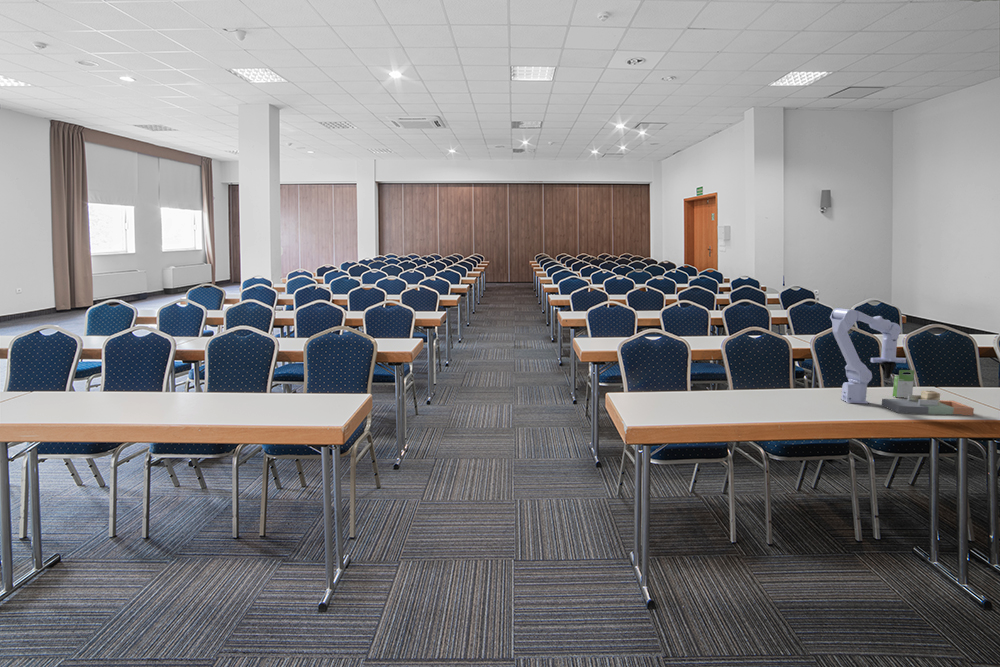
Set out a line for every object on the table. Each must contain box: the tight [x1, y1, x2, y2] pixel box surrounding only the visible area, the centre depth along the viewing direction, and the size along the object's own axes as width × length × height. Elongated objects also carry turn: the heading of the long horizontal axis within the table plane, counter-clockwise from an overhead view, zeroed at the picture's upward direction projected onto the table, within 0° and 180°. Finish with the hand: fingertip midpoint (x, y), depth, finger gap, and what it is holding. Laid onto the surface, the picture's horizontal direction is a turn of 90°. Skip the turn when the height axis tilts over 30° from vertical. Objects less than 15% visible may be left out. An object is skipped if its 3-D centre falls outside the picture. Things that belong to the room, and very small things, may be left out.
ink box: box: [892, 369, 915, 399], centre depth 304 cm, size 7×4×13 cm, turn 84°
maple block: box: [920, 390, 941, 405], centre depth 279 cm, size 5×5×5 cm
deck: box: [881, 398, 975, 416], centre depth 280 cm, size 30×14×3 cm, turn 86°
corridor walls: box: [907, 394, 939, 406], centre depth 280 cm, size 8×9×2 cm
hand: (886, 378), depth 296 cm, fingers closed
